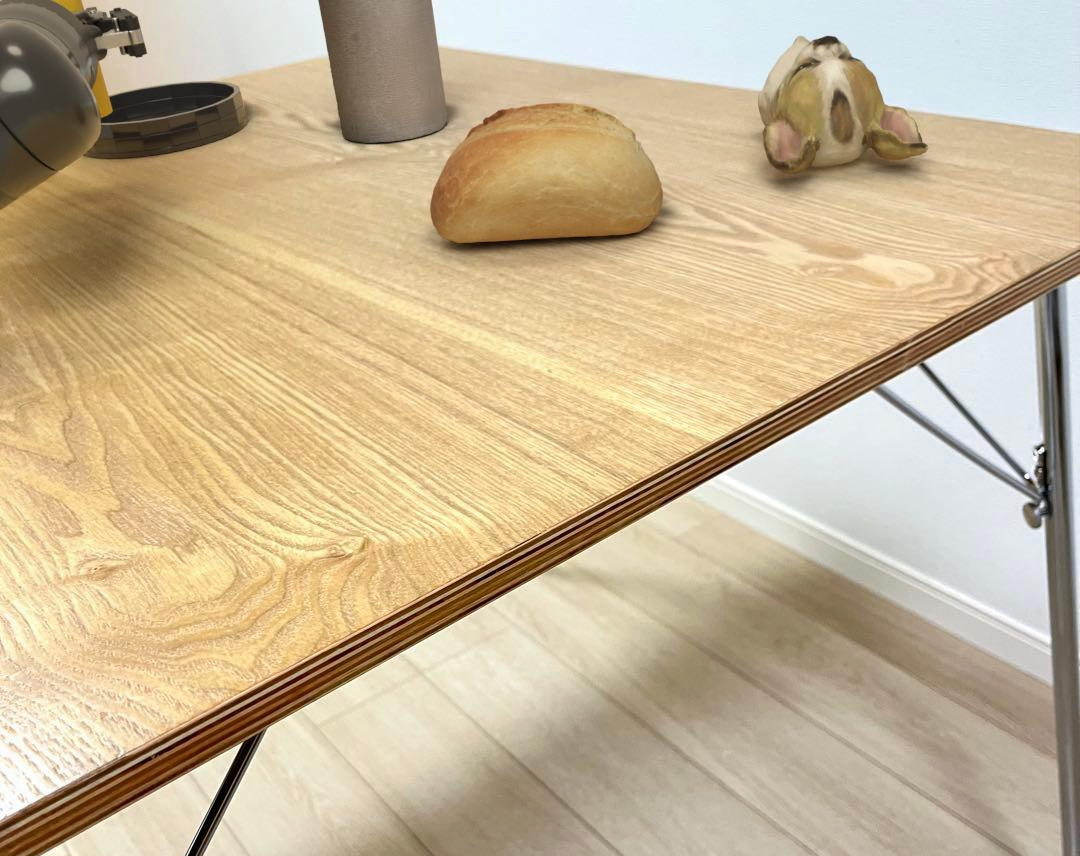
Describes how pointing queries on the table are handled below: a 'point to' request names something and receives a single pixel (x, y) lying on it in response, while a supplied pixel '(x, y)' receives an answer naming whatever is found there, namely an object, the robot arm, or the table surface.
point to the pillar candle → (384, 68)
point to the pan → (169, 119)
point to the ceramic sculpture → (829, 110)
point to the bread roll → (546, 178)
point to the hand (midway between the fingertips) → (56, 27)
